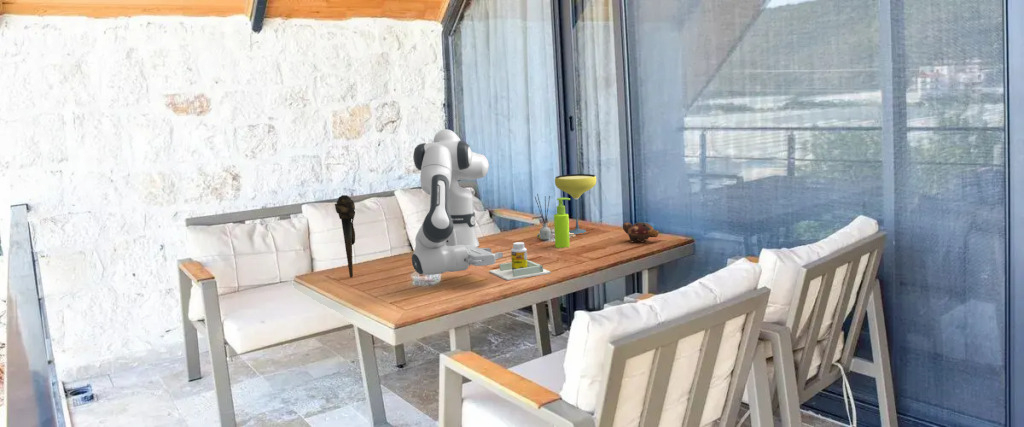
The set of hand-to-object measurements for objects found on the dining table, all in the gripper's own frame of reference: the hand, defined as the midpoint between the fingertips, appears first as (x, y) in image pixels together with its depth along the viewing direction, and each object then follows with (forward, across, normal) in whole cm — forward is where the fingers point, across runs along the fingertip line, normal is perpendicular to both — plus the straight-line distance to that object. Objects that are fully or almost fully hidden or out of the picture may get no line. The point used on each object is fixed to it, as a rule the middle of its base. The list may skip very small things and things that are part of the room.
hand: (496, 252), depth 280 cm
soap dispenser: (+44, +30, +8) cm, 54 cm away
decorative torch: (-44, +32, +9) cm, 55 cm away
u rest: (+9, 0, +9) cm, 12 cm away
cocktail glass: (+64, +52, +8) cm, 83 cm away
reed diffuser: (+44, +48, +8) cm, 65 cm away
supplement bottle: (+9, 0, +8) cm, 12 cm away
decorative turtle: (+74, +19, +8) cm, 77 cm away
